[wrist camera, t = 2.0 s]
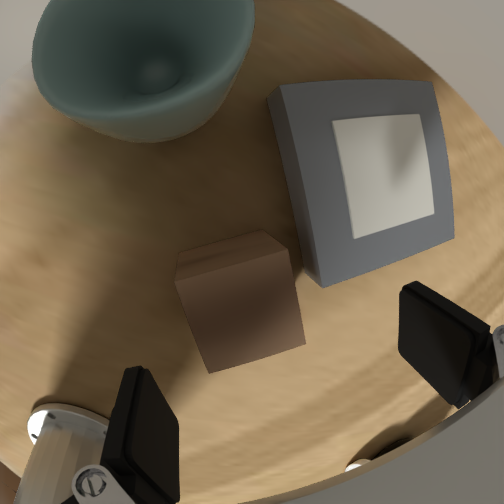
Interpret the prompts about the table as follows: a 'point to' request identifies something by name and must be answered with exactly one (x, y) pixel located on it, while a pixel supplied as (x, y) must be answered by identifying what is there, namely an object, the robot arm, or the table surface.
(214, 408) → the table surface
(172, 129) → the cup
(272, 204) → the table surface
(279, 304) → the walnut cube
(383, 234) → the slate base
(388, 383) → the table surface
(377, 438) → the table surface
